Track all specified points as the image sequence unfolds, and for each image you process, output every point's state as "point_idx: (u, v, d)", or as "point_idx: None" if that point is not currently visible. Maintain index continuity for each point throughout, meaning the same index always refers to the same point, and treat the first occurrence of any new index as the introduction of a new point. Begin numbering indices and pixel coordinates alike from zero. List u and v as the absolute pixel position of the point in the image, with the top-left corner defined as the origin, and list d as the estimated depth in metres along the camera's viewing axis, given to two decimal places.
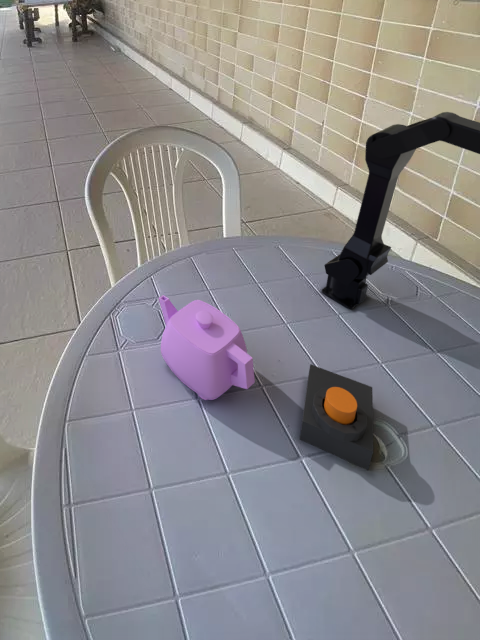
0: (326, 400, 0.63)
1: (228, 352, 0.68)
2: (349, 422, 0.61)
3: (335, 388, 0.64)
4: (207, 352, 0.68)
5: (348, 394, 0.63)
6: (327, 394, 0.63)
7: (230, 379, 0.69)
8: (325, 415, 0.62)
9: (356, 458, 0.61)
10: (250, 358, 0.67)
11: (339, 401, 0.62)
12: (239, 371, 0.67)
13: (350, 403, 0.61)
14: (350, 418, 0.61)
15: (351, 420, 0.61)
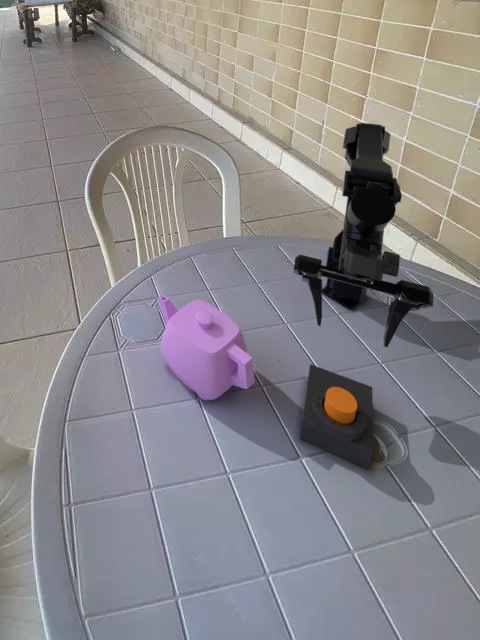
0: (326, 400, 0.63)
1: (228, 352, 0.68)
2: (349, 422, 0.61)
3: (335, 388, 0.64)
4: (207, 352, 0.68)
5: (348, 394, 0.63)
6: (327, 394, 0.63)
7: (230, 379, 0.69)
8: (325, 415, 0.62)
9: (356, 458, 0.61)
10: (250, 358, 0.67)
11: (339, 401, 0.62)
12: (239, 371, 0.67)
13: (350, 403, 0.61)
14: (350, 418, 0.61)
15: (351, 420, 0.61)
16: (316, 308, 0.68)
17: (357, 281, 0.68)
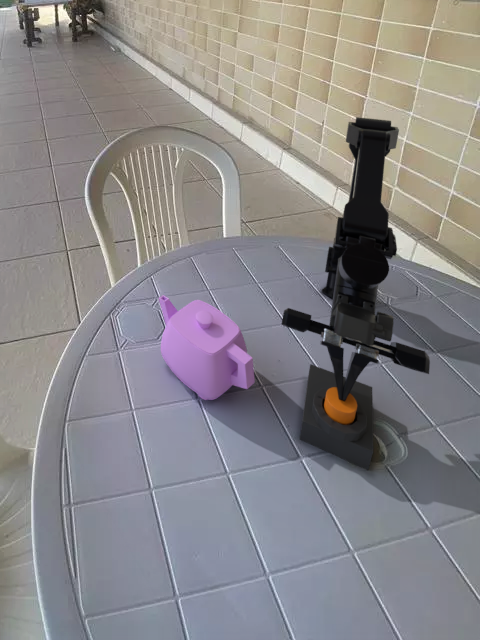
0: (326, 400, 0.63)
1: (228, 352, 0.68)
2: (349, 422, 0.61)
3: (335, 389, 0.64)
4: (207, 352, 0.68)
5: None
6: (327, 394, 0.63)
7: (230, 379, 0.69)
8: (325, 415, 0.62)
9: (356, 458, 0.61)
10: (250, 358, 0.67)
11: (339, 401, 0.62)
12: (239, 371, 0.67)
13: (350, 403, 0.61)
14: (350, 418, 0.61)
15: (351, 420, 0.61)
16: (337, 380, 0.62)
17: (317, 329, 0.66)
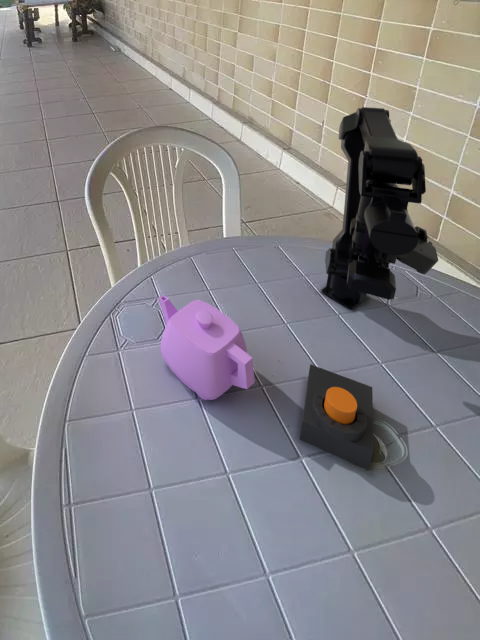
0: (326, 400, 0.63)
1: (228, 352, 0.68)
2: (349, 422, 0.61)
3: (335, 388, 0.64)
4: (207, 352, 0.68)
5: (348, 394, 0.63)
6: (327, 394, 0.63)
7: (230, 379, 0.69)
8: (325, 415, 0.62)
9: (356, 458, 0.61)
10: (250, 358, 0.67)
11: (339, 401, 0.62)
12: (239, 371, 0.67)
13: (350, 403, 0.61)
14: (350, 418, 0.61)
15: (351, 420, 0.61)
16: None
17: None
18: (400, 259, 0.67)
